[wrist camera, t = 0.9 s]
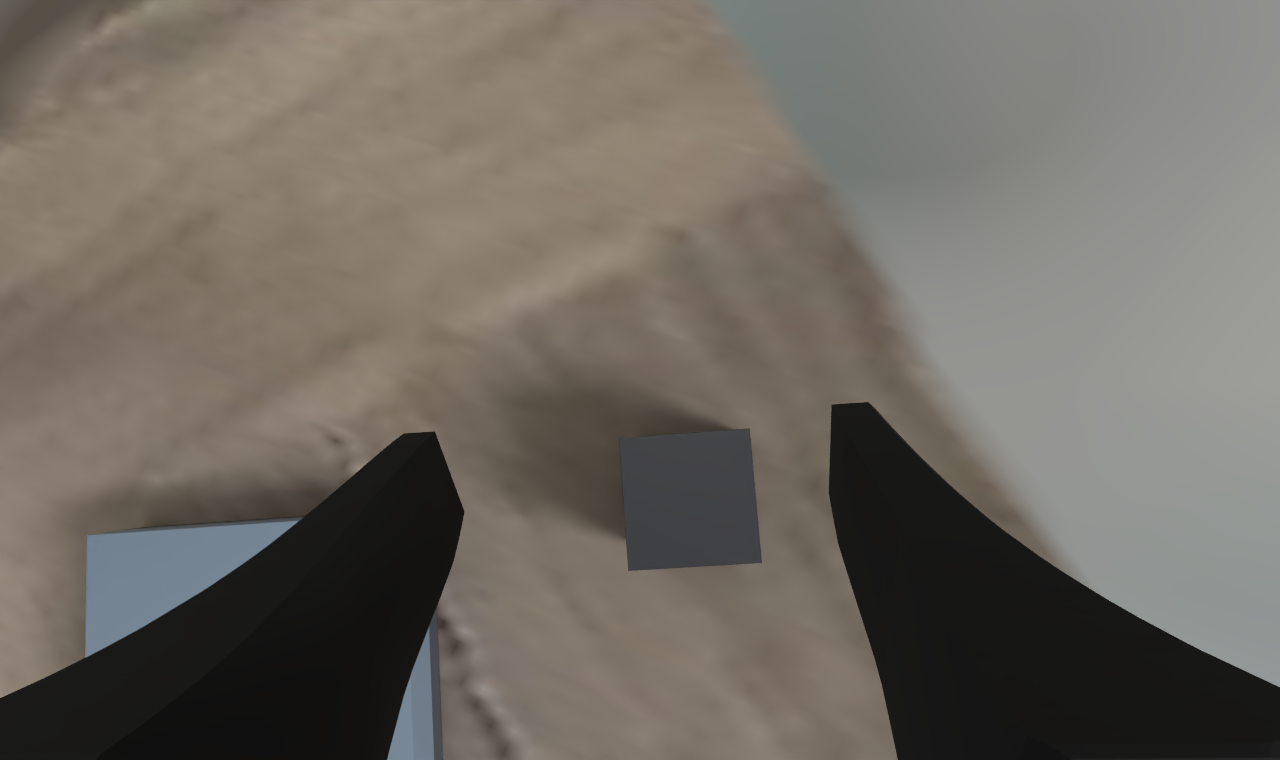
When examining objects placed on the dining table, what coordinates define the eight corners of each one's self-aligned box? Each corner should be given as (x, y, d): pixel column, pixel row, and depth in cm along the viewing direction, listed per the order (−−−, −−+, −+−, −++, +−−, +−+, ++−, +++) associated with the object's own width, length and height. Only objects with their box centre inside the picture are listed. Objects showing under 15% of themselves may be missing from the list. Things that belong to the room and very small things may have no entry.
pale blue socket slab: (450, 955, 24) (422, 1012, 22) (140, 959, 25) (80, 1014, 23) (432, 507, 26) (404, 513, 24) (143, 527, 27) (87, 535, 25)
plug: (749, 540, 25) (761, 562, 20) (642, 546, 25) (628, 570, 20) (739, 432, 26) (749, 428, 21) (634, 440, 26) (619, 438, 21)
